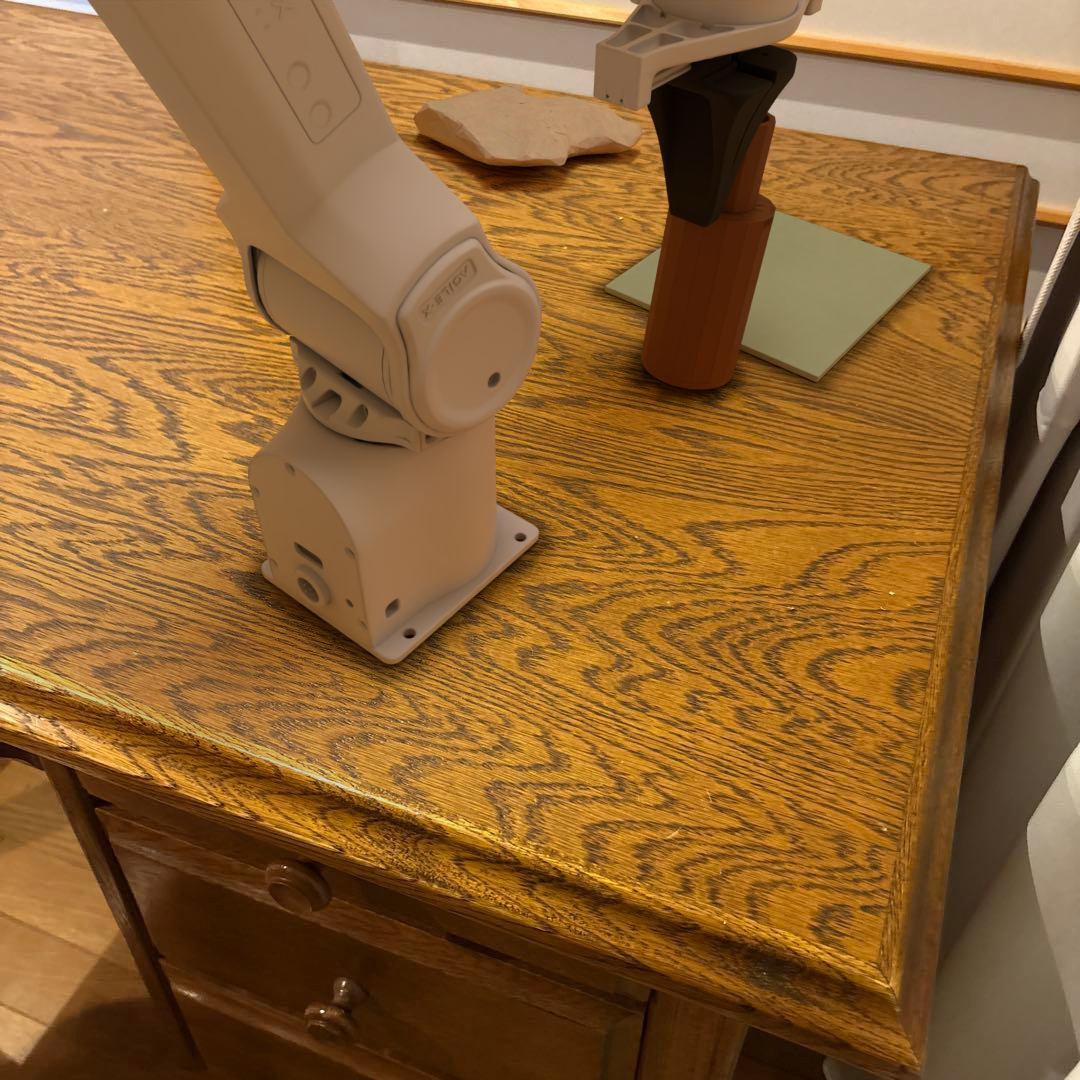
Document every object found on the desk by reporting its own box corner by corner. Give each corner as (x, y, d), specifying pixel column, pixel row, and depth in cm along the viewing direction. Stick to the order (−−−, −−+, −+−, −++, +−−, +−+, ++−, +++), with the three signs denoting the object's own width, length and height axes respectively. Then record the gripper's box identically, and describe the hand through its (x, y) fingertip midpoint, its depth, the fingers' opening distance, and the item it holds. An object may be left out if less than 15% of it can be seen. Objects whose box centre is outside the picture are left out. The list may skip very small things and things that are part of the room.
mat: (816, 383, 53) (818, 376, 52) (604, 291, 59) (604, 285, 58) (929, 271, 61) (931, 265, 61) (733, 201, 67) (734, 195, 67)
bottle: (703, 400, 50) (765, 140, 42) (623, 363, 52) (667, 108, 44) (749, 366, 54) (816, 119, 45) (672, 333, 56) (722, 90, 47)
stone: (669, 113, 67) (457, 130, 62) (664, 168, 69) (458, 189, 65) (584, 70, 78) (398, 82, 73) (582, 119, 80) (401, 134, 75)
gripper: (747, -179, 42) (703, 140, 51) (531, -115, 33) (527, 248, 43) (904, -152, 39) (826, 181, 48) (708, -76, 30) (662, 305, 40)
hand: (693, 216), depth 46 cm, fingers closed, pressing on bottle
